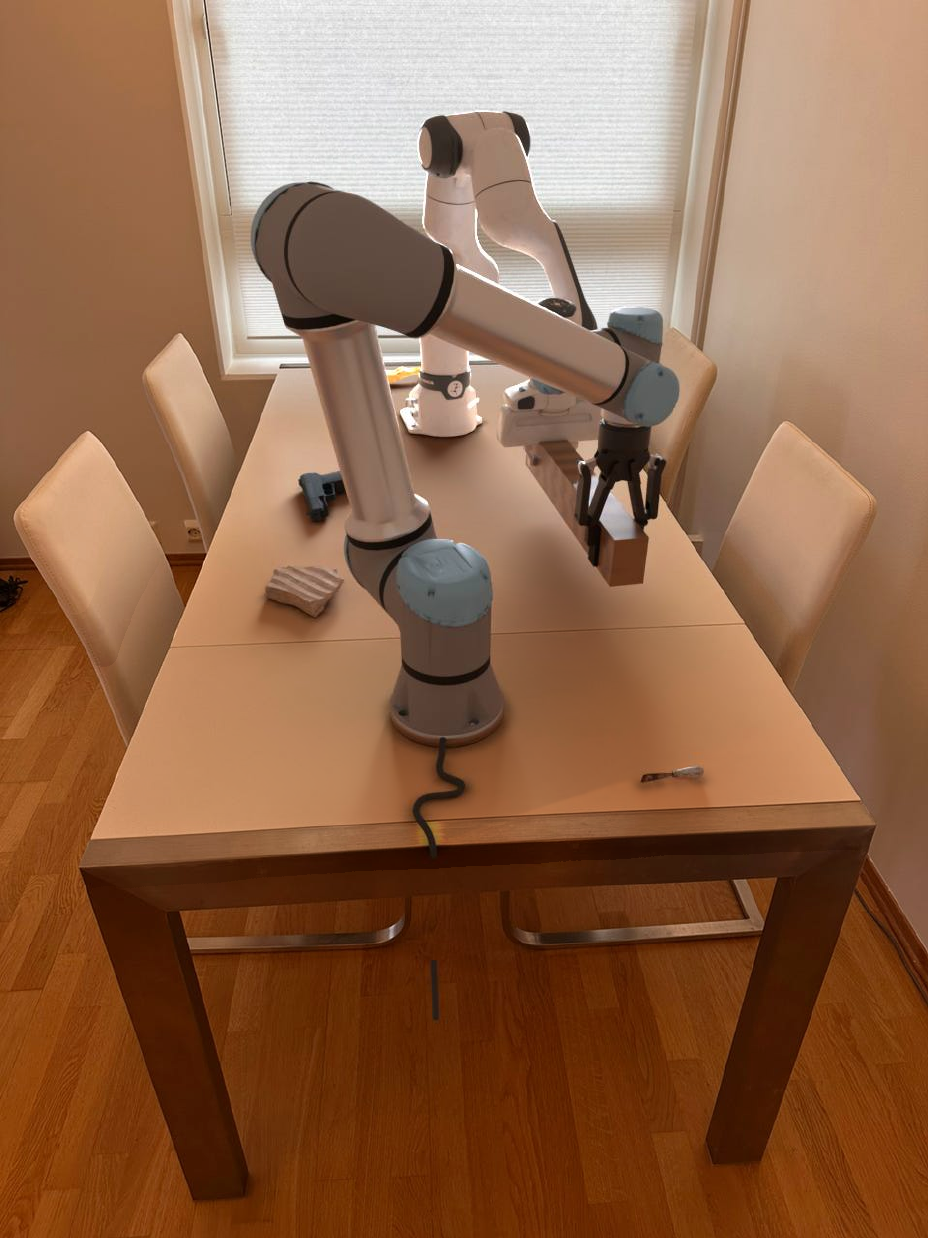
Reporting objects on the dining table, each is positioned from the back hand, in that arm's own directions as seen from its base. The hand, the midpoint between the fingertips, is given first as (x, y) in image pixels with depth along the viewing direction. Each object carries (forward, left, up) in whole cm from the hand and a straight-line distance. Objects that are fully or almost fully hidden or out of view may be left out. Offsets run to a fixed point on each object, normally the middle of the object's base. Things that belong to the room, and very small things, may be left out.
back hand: (549, 464), depth 171 cm
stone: (+13, -53, -10) cm, 55 cm away
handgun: (-21, -37, -10) cm, 44 cm away
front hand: (+35, -8, -2) cm, 36 cm away
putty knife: (+75, -23, -10) cm, 79 cm away
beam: (+18, -4, -3) cm, 18 cm away
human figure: (-89, -4, -10) cm, 90 cm away
